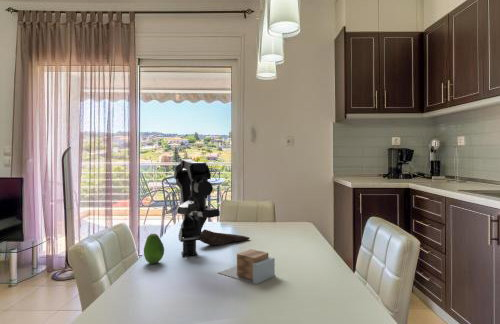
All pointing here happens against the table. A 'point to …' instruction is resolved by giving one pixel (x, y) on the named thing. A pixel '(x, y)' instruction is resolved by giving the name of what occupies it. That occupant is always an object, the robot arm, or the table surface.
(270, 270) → the gray angle bracket
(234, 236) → the stone
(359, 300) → the table surface
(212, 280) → the table surface
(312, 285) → the table surface
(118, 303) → the table surface
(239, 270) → the walnut block
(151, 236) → the fruit
